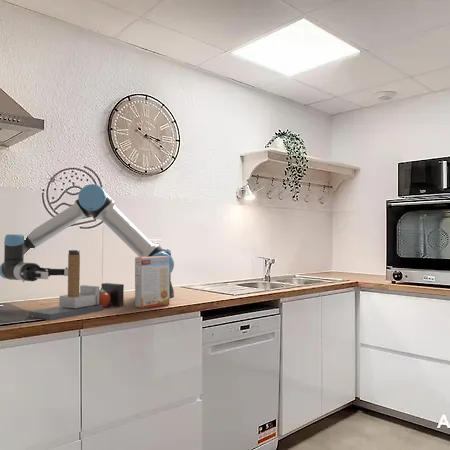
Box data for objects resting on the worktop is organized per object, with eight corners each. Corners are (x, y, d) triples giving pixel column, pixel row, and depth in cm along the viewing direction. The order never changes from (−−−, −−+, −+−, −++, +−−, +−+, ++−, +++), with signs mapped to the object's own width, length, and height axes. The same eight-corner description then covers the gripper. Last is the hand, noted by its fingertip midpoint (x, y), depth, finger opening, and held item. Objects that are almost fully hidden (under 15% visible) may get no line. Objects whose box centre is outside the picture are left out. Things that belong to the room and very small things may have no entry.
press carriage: (83, 302, 178) (84, 249, 179) (99, 304, 174) (99, 250, 174) (59, 306, 168) (60, 250, 169) (74, 308, 164) (75, 250, 164)
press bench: (104, 303, 190) (105, 282, 191) (125, 305, 184) (125, 284, 184) (28, 316, 159) (29, 291, 159) (50, 320, 152) (50, 294, 153)
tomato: (111, 305, 185) (111, 286, 185) (109, 308, 178) (110, 288, 178) (93, 305, 184) (93, 286, 184) (91, 308, 177) (91, 289, 177)
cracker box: (162, 303, 192) (162, 255, 192) (169, 305, 187) (170, 256, 188) (133, 306, 183) (134, 256, 183) (141, 308, 178) (141, 257, 179)
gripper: (53, 278, 193) (86, 281, 183) (-1, 283, 172) (34, 287, 161) (53, 261, 193) (86, 263, 183) (-1, 264, 172) (34, 266, 161)
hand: (62, 274), depth 172 cm, fingers open, 13 cm apart
